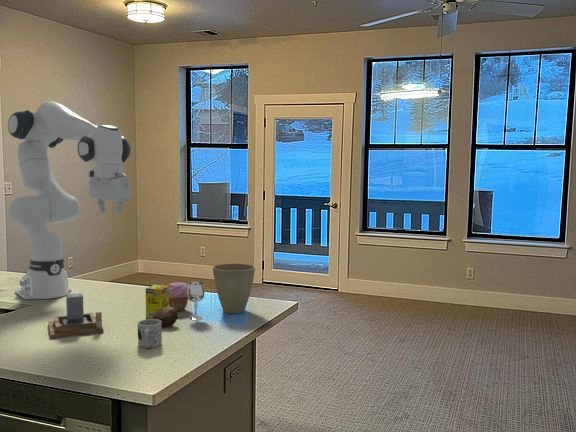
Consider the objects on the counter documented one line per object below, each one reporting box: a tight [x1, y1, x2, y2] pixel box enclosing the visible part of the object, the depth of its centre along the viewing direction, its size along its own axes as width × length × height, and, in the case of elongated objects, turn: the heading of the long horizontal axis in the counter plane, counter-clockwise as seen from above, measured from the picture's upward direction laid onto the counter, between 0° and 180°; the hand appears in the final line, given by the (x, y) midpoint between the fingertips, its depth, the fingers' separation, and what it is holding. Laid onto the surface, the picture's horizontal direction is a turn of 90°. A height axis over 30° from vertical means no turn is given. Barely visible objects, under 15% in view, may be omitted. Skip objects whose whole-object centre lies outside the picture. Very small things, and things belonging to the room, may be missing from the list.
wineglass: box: [187, 281, 205, 321], centre depth 190 cm, size 6×6×12 cm
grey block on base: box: [63, 292, 88, 325], centre depth 177 cm, size 7×7×10 cm
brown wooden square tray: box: [48, 311, 104, 339], centre depth 177 cm, size 15×15×6 cm
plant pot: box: [212, 262, 256, 315], centre depth 200 cm, size 15×15×16 cm
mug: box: [137, 319, 163, 350], centre depth 162 cm, size 10×7×7 cm, turn 4°
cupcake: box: [167, 281, 189, 312], centre depth 201 cm, size 9×9×10 cm
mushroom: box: [153, 307, 179, 328], centre depth 182 cm, size 8×8×6 cm
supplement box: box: [145, 284, 169, 320], centre depth 189 cm, size 6×6×11 cm
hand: (110, 213), depth 195 cm, fingers open, 8 cm apart
